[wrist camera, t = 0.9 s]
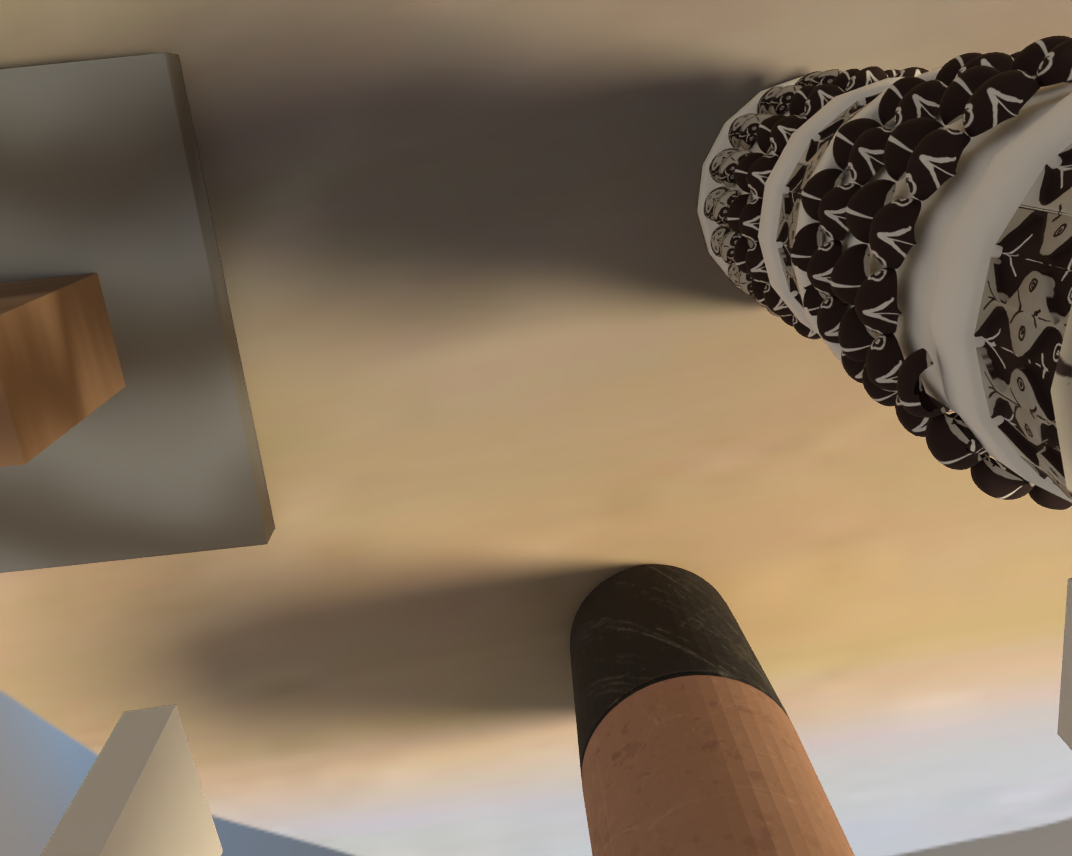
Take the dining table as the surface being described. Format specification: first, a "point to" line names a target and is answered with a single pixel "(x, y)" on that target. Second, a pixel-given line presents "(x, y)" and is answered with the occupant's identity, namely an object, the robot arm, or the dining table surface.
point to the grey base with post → (115, 327)
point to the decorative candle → (920, 246)
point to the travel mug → (686, 730)
